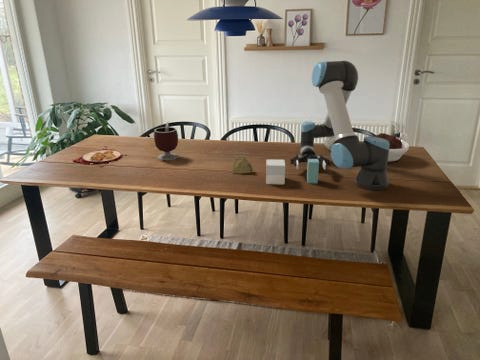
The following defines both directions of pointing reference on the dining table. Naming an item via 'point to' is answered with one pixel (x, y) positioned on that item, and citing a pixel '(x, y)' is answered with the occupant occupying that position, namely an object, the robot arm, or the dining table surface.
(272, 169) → the tower top
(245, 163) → the rock
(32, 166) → the dining table surface
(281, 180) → the tower base
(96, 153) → the plate with food
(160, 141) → the mate gourd
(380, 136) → the white shallow bowl
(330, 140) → the decorative shell
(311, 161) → the teal post
